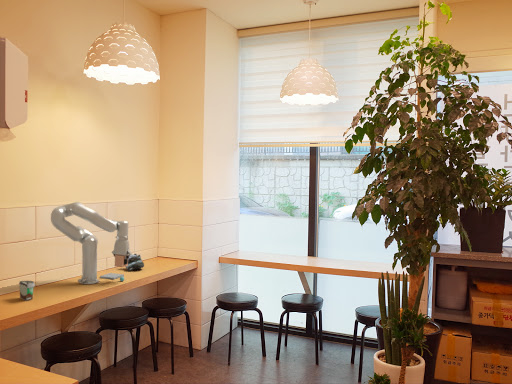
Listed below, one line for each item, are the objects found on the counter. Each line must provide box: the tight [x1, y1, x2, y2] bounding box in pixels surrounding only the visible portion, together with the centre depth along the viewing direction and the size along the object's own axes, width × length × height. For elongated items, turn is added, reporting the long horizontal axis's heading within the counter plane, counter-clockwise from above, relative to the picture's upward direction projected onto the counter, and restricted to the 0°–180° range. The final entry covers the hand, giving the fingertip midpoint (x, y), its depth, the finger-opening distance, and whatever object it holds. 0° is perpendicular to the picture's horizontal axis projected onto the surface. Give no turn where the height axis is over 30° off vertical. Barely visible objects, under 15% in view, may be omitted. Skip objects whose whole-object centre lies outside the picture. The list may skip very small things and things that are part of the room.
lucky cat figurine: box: [125, 253, 145, 272], centre depth 368 cm, size 15×12×14 cm
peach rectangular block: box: [114, 255, 128, 268], centre depth 328 cm, size 6×6×8 cm
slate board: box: [99, 272, 125, 280], centre depth 341 cm, size 12×12×1 cm
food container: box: [18, 280, 36, 302], centre depth 279 cm, size 12×6×10 cm, turn 48°
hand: (121, 263), depth 328 cm, fingers closed on peach rectangular block, 6 cm apart
